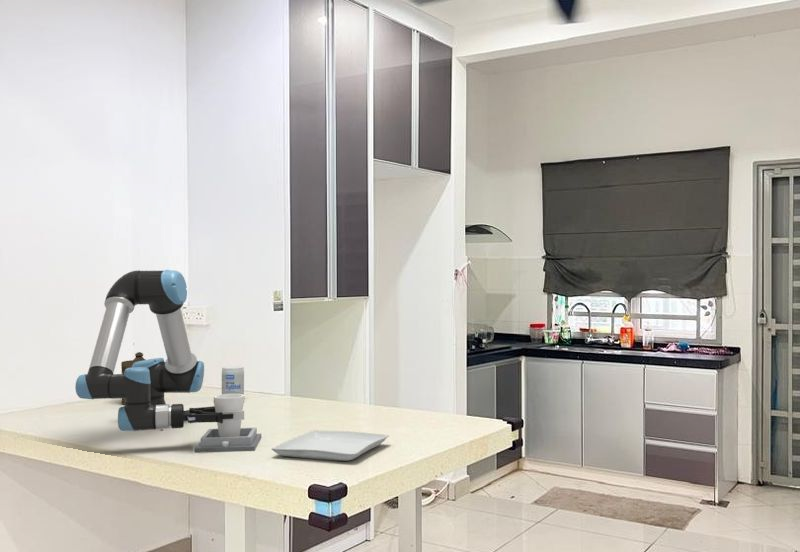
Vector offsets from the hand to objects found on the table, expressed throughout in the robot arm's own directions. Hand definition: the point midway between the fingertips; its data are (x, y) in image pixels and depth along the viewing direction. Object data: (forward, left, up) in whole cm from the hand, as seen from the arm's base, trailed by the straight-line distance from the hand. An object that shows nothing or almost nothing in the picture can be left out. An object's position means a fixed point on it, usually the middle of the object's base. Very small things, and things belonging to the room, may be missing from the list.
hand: (243, 412), depth 244 cm
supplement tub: (-90, -16, -10) cm, 92 cm away
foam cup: (+1, -4, -8) cm, 9 cm away
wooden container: (-90, -56, -10) cm, 107 cm away
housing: (+1, -4, -10) cm, 11 cm away
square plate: (+15, +29, -11) cm, 34 cm away
